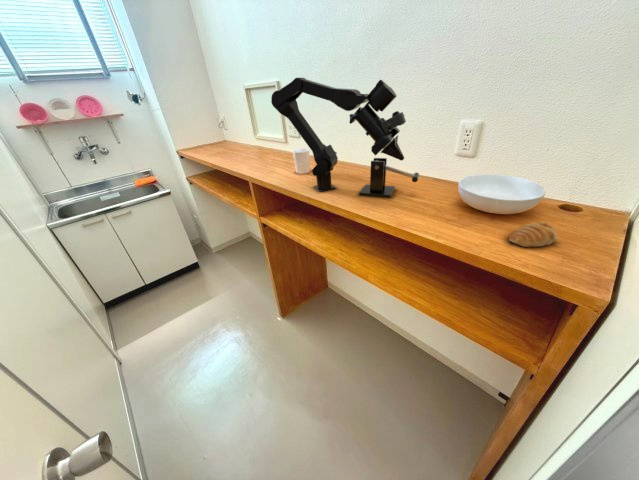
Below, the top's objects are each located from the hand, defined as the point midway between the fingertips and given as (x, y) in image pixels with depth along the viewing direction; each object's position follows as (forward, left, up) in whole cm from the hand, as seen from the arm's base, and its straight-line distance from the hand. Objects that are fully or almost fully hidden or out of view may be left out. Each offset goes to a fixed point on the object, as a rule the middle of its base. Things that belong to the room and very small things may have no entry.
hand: (403, 159), depth 83 cm
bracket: (-6, -6, -12) cm, 15 cm away
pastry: (+40, +8, -12) cm, 42 cm away
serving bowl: (+23, +17, -12) cm, 31 cm away
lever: (-2, -2, -5) cm, 6 cm away
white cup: (-47, -20, -12) cm, 53 cm away
